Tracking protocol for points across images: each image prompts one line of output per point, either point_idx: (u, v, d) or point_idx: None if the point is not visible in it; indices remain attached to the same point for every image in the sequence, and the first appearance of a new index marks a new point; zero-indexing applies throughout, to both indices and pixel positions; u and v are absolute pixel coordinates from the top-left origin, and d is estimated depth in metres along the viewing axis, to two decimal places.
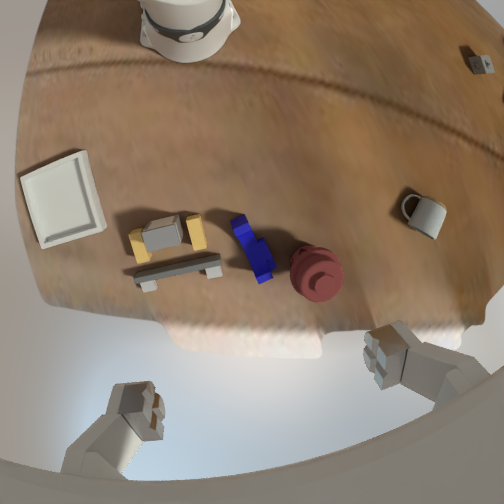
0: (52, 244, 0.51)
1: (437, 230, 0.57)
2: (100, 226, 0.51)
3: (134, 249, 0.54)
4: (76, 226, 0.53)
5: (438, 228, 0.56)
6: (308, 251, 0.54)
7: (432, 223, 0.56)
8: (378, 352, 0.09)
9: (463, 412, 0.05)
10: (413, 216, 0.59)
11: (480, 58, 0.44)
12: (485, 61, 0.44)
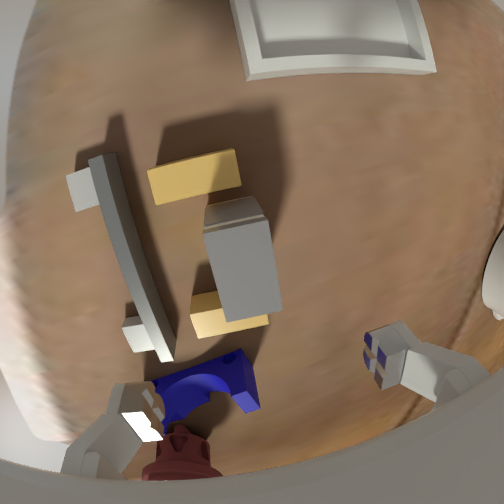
0: None
1: None
2: (264, 69, 0.17)
3: (190, 163, 0.19)
4: (257, 3, 0.17)
5: None
6: (219, 476, 0.27)
7: None
8: (378, 352, 0.09)
9: (463, 411, 0.05)
10: None
11: None
12: None
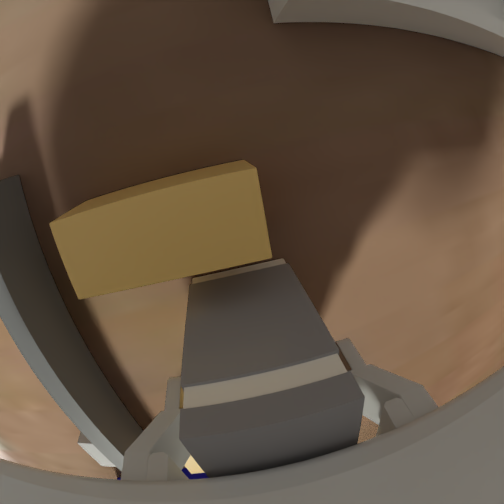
0: None
1: None
2: None
3: (142, 206, 0.07)
4: None
5: None
6: None
7: None
8: None
9: (464, 411, 0.05)
10: None
11: None
12: None
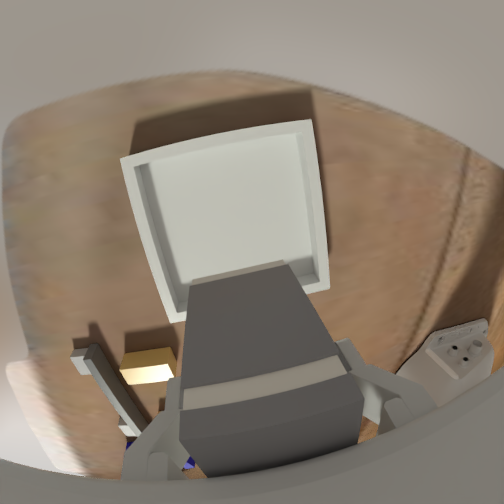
0: (132, 195, 0.23)
1: None
2: (179, 319, 0.28)
3: (143, 369, 0.29)
4: (172, 250, 0.27)
5: None
6: None
7: None
8: None
9: (463, 411, 0.05)
10: None
11: None
12: None
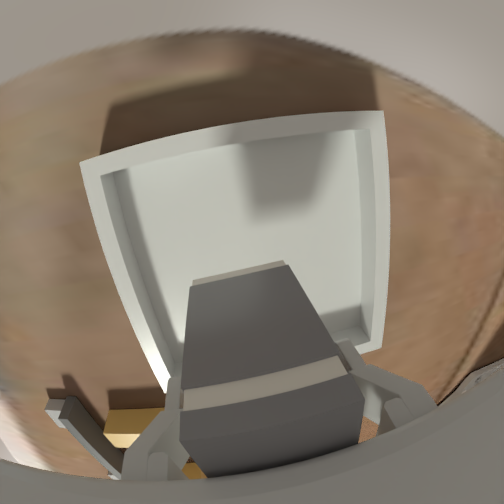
0: (99, 221, 0.14)
1: None
2: None
3: (132, 435, 0.21)
4: (165, 299, 0.18)
5: None
6: None
7: None
8: None
9: (463, 411, 0.05)
10: None
11: None
12: None
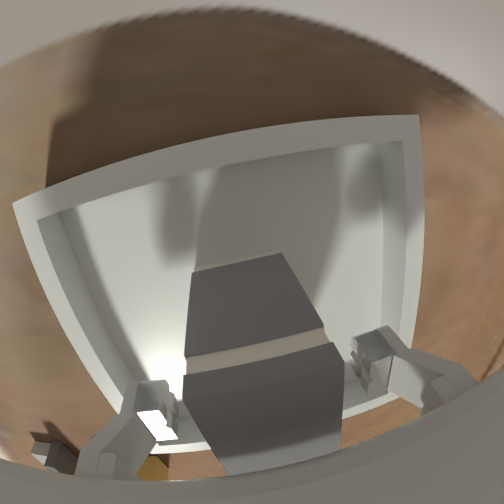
0: (44, 278, 0.10)
1: None
2: (164, 451, 0.15)
3: None
4: (141, 359, 0.14)
5: None
6: None
7: None
8: (363, 357, 0.09)
9: (464, 412, 0.05)
10: None
11: None
12: None
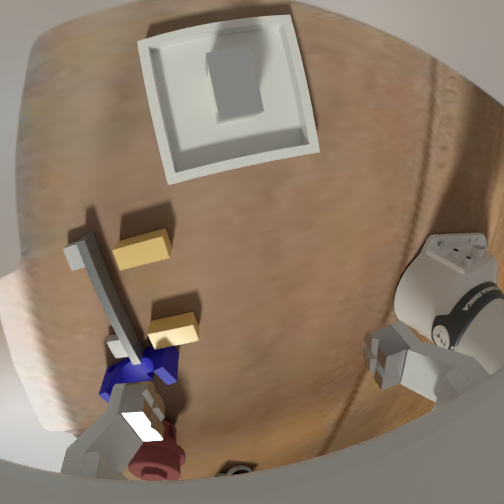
0: (144, 67, 0.24)
1: None
2: (177, 180, 0.29)
3: (137, 246, 0.30)
4: (174, 119, 0.28)
5: None
6: (179, 450, 0.38)
7: None
8: (378, 352, 0.09)
9: (464, 411, 0.05)
10: None
11: None
12: None
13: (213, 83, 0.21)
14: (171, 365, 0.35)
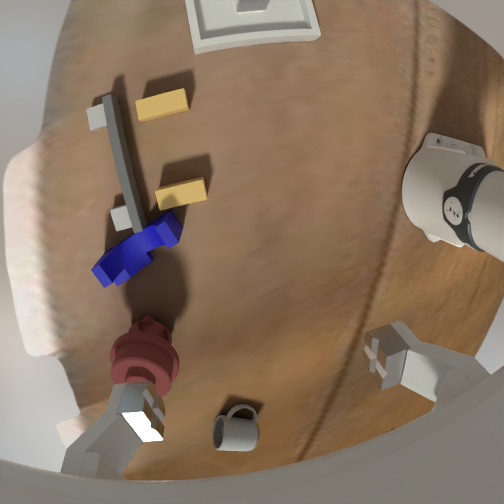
0: None
1: (227, 449, 0.49)
2: (201, 45, 0.29)
3: (159, 96, 0.30)
4: (202, 9, 0.28)
5: (230, 450, 0.49)
6: (173, 352, 0.38)
7: (234, 444, 0.49)
8: (378, 352, 0.09)
9: (464, 411, 0.05)
10: (233, 420, 0.52)
11: None
12: None
13: None
14: (174, 228, 0.35)
